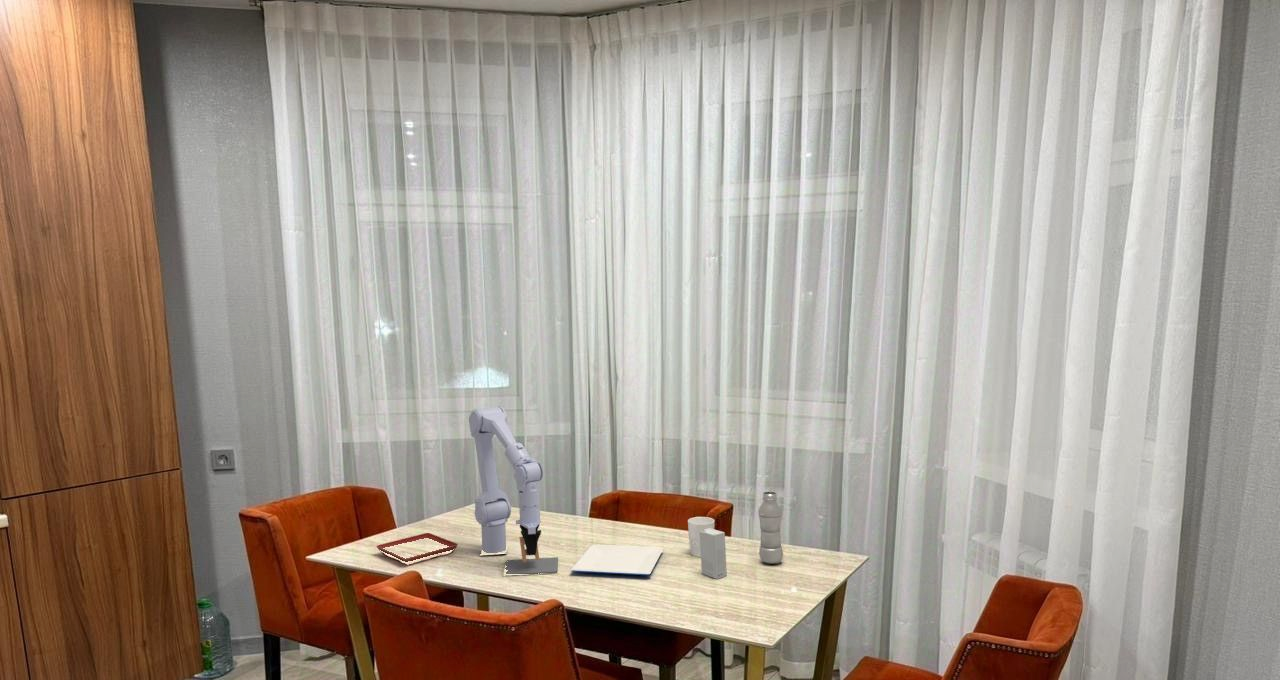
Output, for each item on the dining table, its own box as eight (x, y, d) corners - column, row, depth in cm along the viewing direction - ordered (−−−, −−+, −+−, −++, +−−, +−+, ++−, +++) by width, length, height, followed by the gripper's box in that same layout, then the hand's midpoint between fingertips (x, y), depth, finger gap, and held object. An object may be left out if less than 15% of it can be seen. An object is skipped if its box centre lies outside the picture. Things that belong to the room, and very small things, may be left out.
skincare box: (727, 576, 203) (726, 531, 203) (715, 580, 201) (714, 535, 200) (711, 570, 208) (710, 527, 208) (699, 574, 205) (698, 530, 205)
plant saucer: (459, 554, 229) (459, 543, 228) (405, 569, 216) (404, 558, 215) (428, 542, 241) (428, 532, 241) (375, 556, 228) (375, 545, 228)
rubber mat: (506, 562, 219) (506, 560, 219) (558, 559, 220) (558, 557, 220) (502, 576, 207) (502, 574, 207) (557, 573, 208) (557, 571, 208)
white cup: (693, 559, 217) (693, 525, 217) (685, 551, 225) (684, 518, 225) (719, 556, 220) (718, 522, 219) (709, 548, 227) (708, 515, 227)
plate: (649, 580, 202) (649, 573, 202) (570, 576, 206) (570, 569, 206) (664, 553, 224) (663, 546, 224) (591, 550, 228) (591, 543, 228)
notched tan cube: (522, 557, 215) (519, 537, 215) (538, 554, 216) (535, 534, 216) (523, 562, 211) (520, 541, 210) (539, 559, 212) (536, 538, 211)
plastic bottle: (783, 567, 209) (781, 496, 208) (758, 566, 211) (757, 495, 210) (783, 559, 216) (782, 490, 215) (759, 558, 217) (758, 490, 216)
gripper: (514, 499, 219) (515, 545, 220) (516, 512, 205) (518, 561, 206) (538, 497, 221) (539, 543, 221) (542, 510, 206) (543, 559, 207)
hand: (530, 552), depth 213 cm, fingers closed on notched tan cube, 5 cm apart
